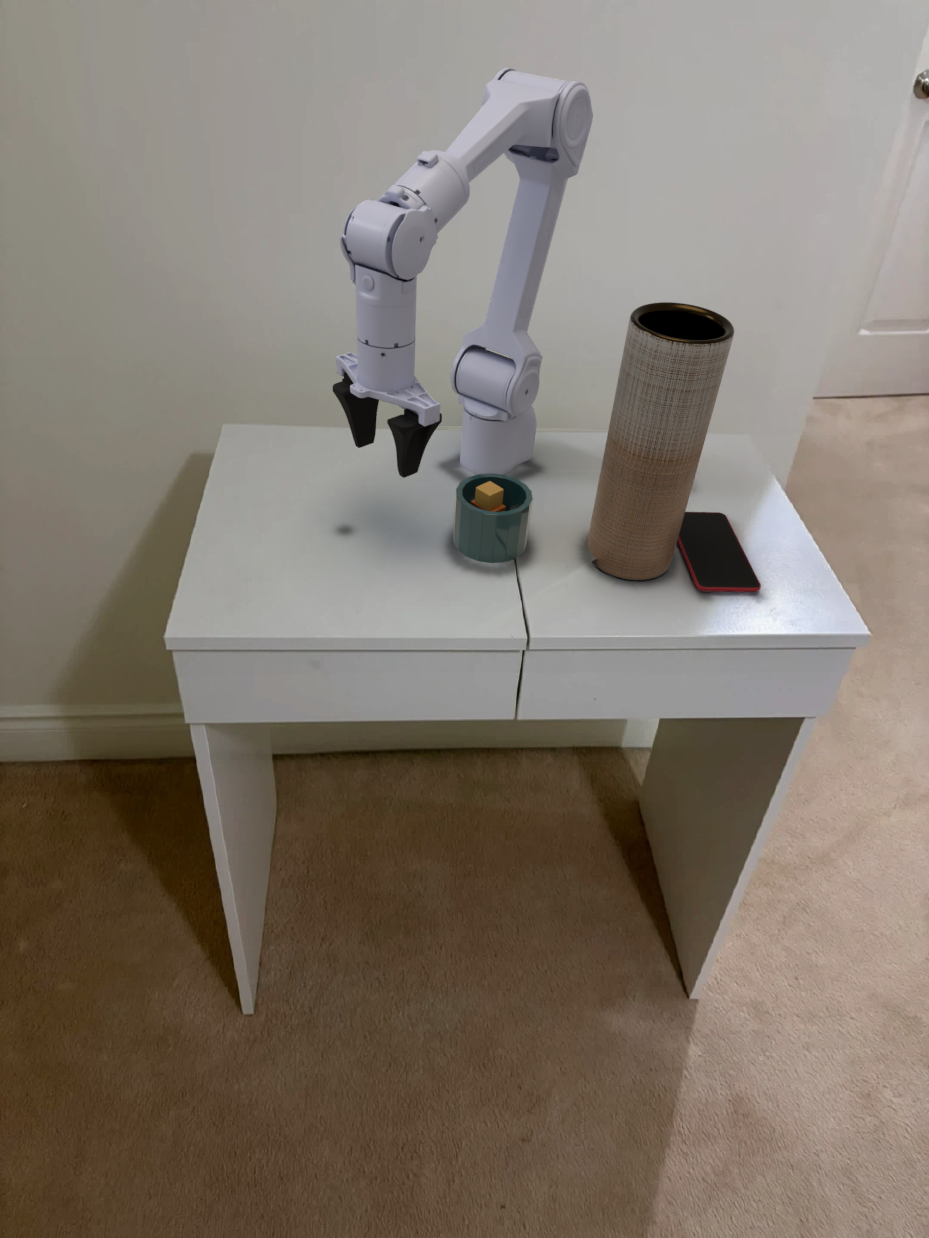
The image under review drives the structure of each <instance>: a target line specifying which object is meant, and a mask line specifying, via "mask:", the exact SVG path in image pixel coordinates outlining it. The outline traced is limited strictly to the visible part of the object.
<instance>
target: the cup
mask: <svg viewBox="0 0 929 1238" xmlns="http://www.w3.org/2000/svg"><path fill="white" fill-rule="evenodd" d="M489 481H491V482H493V483H494V484H496V485H498V486H499V487H501V488H502V489H504V492H503V501H502V504H503V505H504V506H506V511H502V512H493V511H485V510H482V509H479V508H476V507H474V506H473V505H471V501H472V500H474V499H475V492H476V487H478V486H480V485H482V484H484V483H486V482H489ZM454 499H455V501H454V517H453V530H452V531H453V532H452V541H453V545H454V546H455V548H456V550H457V551H458V552H459V553H461V554H462V555H463V556H465V557H467V558H469V559H471V560H475V561H477V562H480V563H488V564H498V563H506V562H510V561H512V560H515V559H517V558H518V557H520V556H521V555H522V554H523V553H524V552H525V550H526V548H527V546H528V545H527V544H528V538H529V537H528V536H529V529H530V522H531V514H532V509H533V508H532V506H533V500H534V498H533V493H532V490H531V489H530V487H529V486H528V485H527V484H526V483H525V482H522V481H521V480H519V479H518V478H515V477H512V476H510V475H506V474H503V475H502V474H493V473H492V474H474V475H471V476H468V477H466V478H465V479H463V480H462V481H460V482H459V483H458V485H457V486H456V489H455V498H454Z"/></svg>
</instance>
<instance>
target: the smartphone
mask: <svg viewBox="0 0 929 1238" xmlns="http://www.w3.org/2000/svg"><path fill="white" fill-rule="evenodd" d="M677 544H678V546H679V548H680V550H681V553H682V555H683V557H684V560H685V563H686V565H687V568H688V570H689V573H690V575H691V578H692V580H693V582H694V585H695V588H696V589H697V590H699V591H701V592H704V593H707V592H708V593H757V592H759V591H760V590H761V587H762V585H761V583H760V580H759V578H758V577H757V575H756V572H755V571H754V570H755V569H753V567H752V565H751V562H750V560H749V558H748V556H747V554H746V552H745V551H744V548H743V546H742V545H741V542H740V540H739V539H738V537H737V534H736V533H735V530H734V528H733V526H732V525H731V521H730V520H729V518H728V516H727V515H726V514H725V513H722V512H720V511H719V512H718V511H717V512H714V511H713V512H712V511H685V514H684V518H683V522H682V525H681V529H680V533H679V536H678V540H677Z"/></svg>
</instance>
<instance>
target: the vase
mask: <svg viewBox="0 0 929 1238" xmlns="http://www.w3.org/2000/svg"><path fill="white" fill-rule="evenodd" d="M626 330H627V331H626V335H625V340H624V346H623V351H622V356H621V362H620V367H619V371H618V372H619V373H618V378H617V383H616V388H615V394H614V397H613V403H612V409H611V415H610V420H609V424H608V430H607V436H606V441H605V445H604V446H605V447H604V451H603V457H602V461H601V466H600V471H599V472H600V473H599V477H598V483H597V488H596V493H595V498H594V504H593V509H592V515H591V519H590V525H589V526H590V527H589V530H588V534H587V535H588V536H587V543H586V544H587V549H588V551H589V553H590V554H591V555H592V556H593V557H594V558H595V559H594V560H592V561H591V563H592V564H593V565H594V566H595V567H597V568H598V569H599V570H600V571H602V572H604V573H606V574H608V575H610V576H613V577H615V578H619V579H622V580H630V581H647V580H651V579H655V578H657V577H659V576H661V575H663V574H665V573H666V572H667V571H668V569H669V568H670V566H671V564H672V561H673V558H674V554H675V551H676V547H677V544H678V541H677V540H678V536H679V533H680V529H681V525H682V522H683V518H684V514H685V512H687V511H686V510H687V507H688V503H689V499H690V496H691V493H692V489H693V486H694V481H695V479H696V474H697V472H698V471H697V470H698V467H699V463H700V459H701V457H702V453H703V449H704V446H705V442H706V437H707V435H708V430H709V427H710V423H711V420H712V415H713V412H714V410H715V405H716V401H717V397H718V394H719V390H720V386H721V383H722V379H723V376H724V373H725V369H726V365H727V362H728V357H729V354H730V350H731V346H732V344H733V339H734V335H735V328H734V324H733V323H732V322H731V321H730V320H729V319H728V318H726V317H725V316H723V315H722V314H720V313H718V312H716V311H713V310H711V309H709V308H705V307H702V306H700V305H699V306H698V305H694V304H688V303H683V302H669V301H666V302H665V301H664V302H661V301H660V302H652V303H647V304H643V305H641V306H638V307H637V308H635V309H633V311H632V312H631V313H630V315H629V319H628V325H627V329H626Z"/></svg>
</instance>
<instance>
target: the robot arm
mask: <svg viewBox="0 0 929 1238" xmlns="http://www.w3.org/2000/svg"><path fill="white" fill-rule="evenodd" d="M593 118H594V111H593V106H592V100H591V96H590V91H589V89H588V87H587V85H586V83H584V82H583V81H581V80H566V79H562V78H561V79H560V78H555V77H549V76H544V75H539V74H535V73H534V74H533V73H528V72H523V71H518V70H516V69H514V68H510V67H504V68H502V69H500V70H499V71H497V73H496V74H495V75H494V76H493V79H491V80H490V81H488V82H487V83H486V84H485V87H484V91H483V96H482V101H481V107H480V109H479V110H478V111H477V112H476V114H475V115H474V116H473V118H471V120H470V121H469V122H468V123H467V125H466V126H465V127H464V128H463V129H462V131H461V132H460V133H459V134H458V135H457V136H456V137H455V139H454V140H453V142H451V144H450V145H449V146H448V148H446V150H445V151H443V150H440V149H432V150H423V151H422V152H421V153H420V154H419V155H418V156H417V157H416V160H417V161H416V162H415V163H414V164H413V165H411V166H410V168H408V170H406V171H405V172H404V174H402V175H401V177H399V179H397V180H396V181H395V182H394V183H393V184H392V185H390V187H389V188H388V189H387V190H386V191H385V192H384V193H383V194H382V195H381V196H380V197H379V198H378V199H377V200H376V199H365V200H363V201H361V202H360V203H359V204H356V205H355V206H354V207H353V208H351V210H350V211H349V212H348V215H347V217H346V219H345V221H344V225H343V231H342V235H341V236H340V237H339V244H340V249H341V252H342V254H343V257H344V258H345V260H346V261H347V263H348V266H349V271H350V272H349V276H350V280H351V281H352V283H353V284H354V286H355V313H356V349H357V350H356V353H357V354H356V353H353V352H352V351H350V352H349V351H348V352H346V353H343V354H339V355H336V356H335V364H336V365H335V366H336V374H337V375H339V376H340V377H343V378H342V379H341V381H338V382H336V383H334V384H333V385H332V393H333V394H334V395H335V397H336V398H337V400H338V401H339V403H340V405H341V408H342V409H343V412H344V414H345V417H346V419H347V422H348V425H349V429H350V432H351V435H352V439H353V442H354V444H355V447H357V448H358V449H361V448H364V447H366V446H369V445H372V444H374V443H375V439H376V432H377V418H378V417H377V415H378V409H379V404H380V401H382V402H384V403H387V404H392V405H395V406H398V407H399V408H401V409H403V414H399V415H396V416H393V417H391V418H388V419H387V420H386V423H387V425H388V428H389V430H390V432H391V435H392V437H393V441H394V447H395V452H396V466H397V467H396V468H397V472H398V475H399V476H400V477H401V478H404V479H405V478H407V477H410V476H412V475H415V474H417V473H418V471H419V468H420V465H421V462H422V458H423V457H424V453H425V451H426V447H427V446H428V443H429V441H430V440H431V438H432V436H433V434H434V433H435V431H436V430H437V428H438V427H439V426H440V424H441V423H442V421H443V420H442V419H443V414H442V413H441V403H440V402H439V401H437V400H435V398H433V396H431V394H430V393H429V392H428V391H427V389H426V388H425V387H424V386H423V384H422V383H421V382H420V381H419V380H418V378H417V377H416V375H415V373H416V372H415V371H416V370H415V368H416V365H415V364H416V326H417V324H416V323H417V290H418V289H417V287H418V286H417V285H418V275H419V274H421V273H423V271H424V270H425V268H426V267H427V264H428V261H429V259H430V256H431V253H432V250H433V247H434V246H435V245H437V240H438V239H439V235H438V234H439V233H440V231H442V230H443V229H444V227H445V226H446V225H448V223H449V222H451V220H452V219H453V218H454V217H455V216H456V215H457V214H458V213H459V212H460V211H461V210H462V209H463V208H464V207H465V205H466V204H467V203H468V201H469V198H470V195H471V186H470V183H471V182H472V181H473V180H474V179H476V178H477V177H478V176H479V175H481V173H482V172H484V171H485V170H486V169H487V168H488V167H489V166H491V165H492V164H493V163H494V162H496V161H497V160H498V159H499V158H500V157H501V156H502V155H504V156H505V157H506V159H507V160H508V161H510V162H511V163H512V164H513V165H514V166H515V167H514V168H515V170H516V172H517V174H518V177H519V182H518V186H517V190H516V193H515V198H514V203H513V206H512V210H511V214H510V218H509V223H508V227H507V231H506V235H505V239H504V243H503V247H502V251H501V254H500V255H501V256H500V259H499V264H498V267H497V271H496V276H495V280H494V284H493V289H492V292H491V296H490V299H489V300H490V301H489V304H488V309H487V313H486V317H485V320H484V322H483V323H482V324H481V325H478V326H477V327H474V328H472V329H471V330H469V331H467V332H466V333H464V335H463V338H462V341H461V342H462V343H461V345H460V347H459V350H458V352H457V354H456V356H455V357H454V360H453V361H452V364H451V368H450V373H449V374H450V375H449V378H450V385H451V389H452V391H453V393H455V394H456V395H458V404H460V405H462V419H461V435H460V451H459V463H460V466H462V468H464V469H465V470H466V471H468V472H470V473H473V474H474V475H478V474H492V473H493V474H502V475H506V474H507V473H509V472H511V471H512V470H513V469H514V468H515V467H517V466H519V465H520V464H524V463H525V462H528V461H530V460H531V459H533V455H534V449H535V448H534V447H535V440H536V432H537V415H536V412H535V408H534V406H533V404H534V402H535V401H536V398H537V395H538V392H539V388H540V372H541V365H542V361H543V354H542V353H541V351H540V350H539V349H538V347H537V345H536V344H535V343H534V341H533V339H532V338H531V336H530V335H529V333H528V330H529V326H530V323H531V319H532V315H533V311H534V308H535V304H536V301H537V297H538V292H539V289H540V286H541V281H542V278H543V275H544V270H545V266H546V263H547V259H548V255H549V252H550V248H551V244H552V240H553V236H554V233H555V229H556V225H557V222H558V218H559V214H560V211H561V207H562V203H563V200H564V195H565V192H566V188H567V184H568V181H569V179H570V178H573V177H575V176H577V175H578V174H579V170H580V167H581V166H580V165H581V163H582V160H583V158H584V154H585V150H586V147H587V143H588V139H589V135H590V132H591V128H592V124H593Z"/></svg>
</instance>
